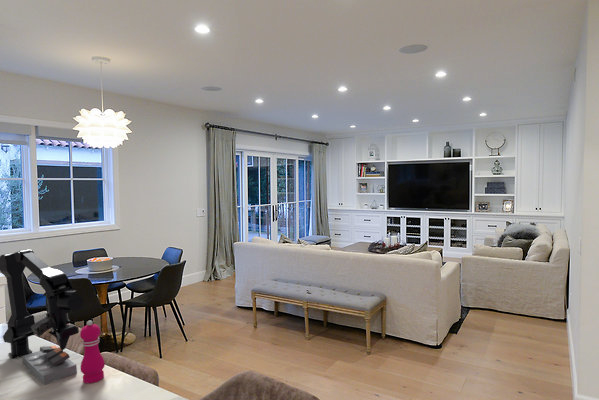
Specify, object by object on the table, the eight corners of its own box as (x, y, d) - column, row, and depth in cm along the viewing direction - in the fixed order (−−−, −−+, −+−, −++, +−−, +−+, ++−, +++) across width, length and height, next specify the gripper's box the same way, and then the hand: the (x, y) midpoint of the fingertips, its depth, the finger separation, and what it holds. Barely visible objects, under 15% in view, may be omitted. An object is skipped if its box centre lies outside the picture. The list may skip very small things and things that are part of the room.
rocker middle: (45, 360, 144) (43, 354, 144) (60, 352, 148) (58, 347, 147) (49, 363, 142) (47, 357, 141) (64, 355, 145) (62, 349, 145)
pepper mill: (95, 385, 130) (91, 324, 129) (76, 383, 132) (71, 324, 131) (110, 374, 137) (106, 317, 136) (91, 372, 139) (87, 316, 138)
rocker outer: (51, 365, 140) (49, 359, 140) (66, 356, 144) (64, 351, 143) (55, 368, 138) (53, 363, 137) (70, 359, 141) (68, 354, 141)
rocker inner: (39, 352, 148) (40, 346, 148) (53, 351, 152) (55, 345, 152) (42, 355, 145) (43, 349, 146) (57, 354, 149) (58, 348, 149)
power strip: (22, 364, 148) (22, 355, 147) (53, 354, 155) (52, 346, 155) (44, 384, 132) (43, 375, 131) (76, 373, 139) (76, 363, 139)
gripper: (23, 310, 145) (29, 351, 147) (40, 320, 133) (46, 365, 134) (57, 301, 154) (62, 340, 155) (76, 310, 141) (82, 352, 143)
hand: (62, 349), depth 147 cm, fingers closed, pressing on rocker middle
